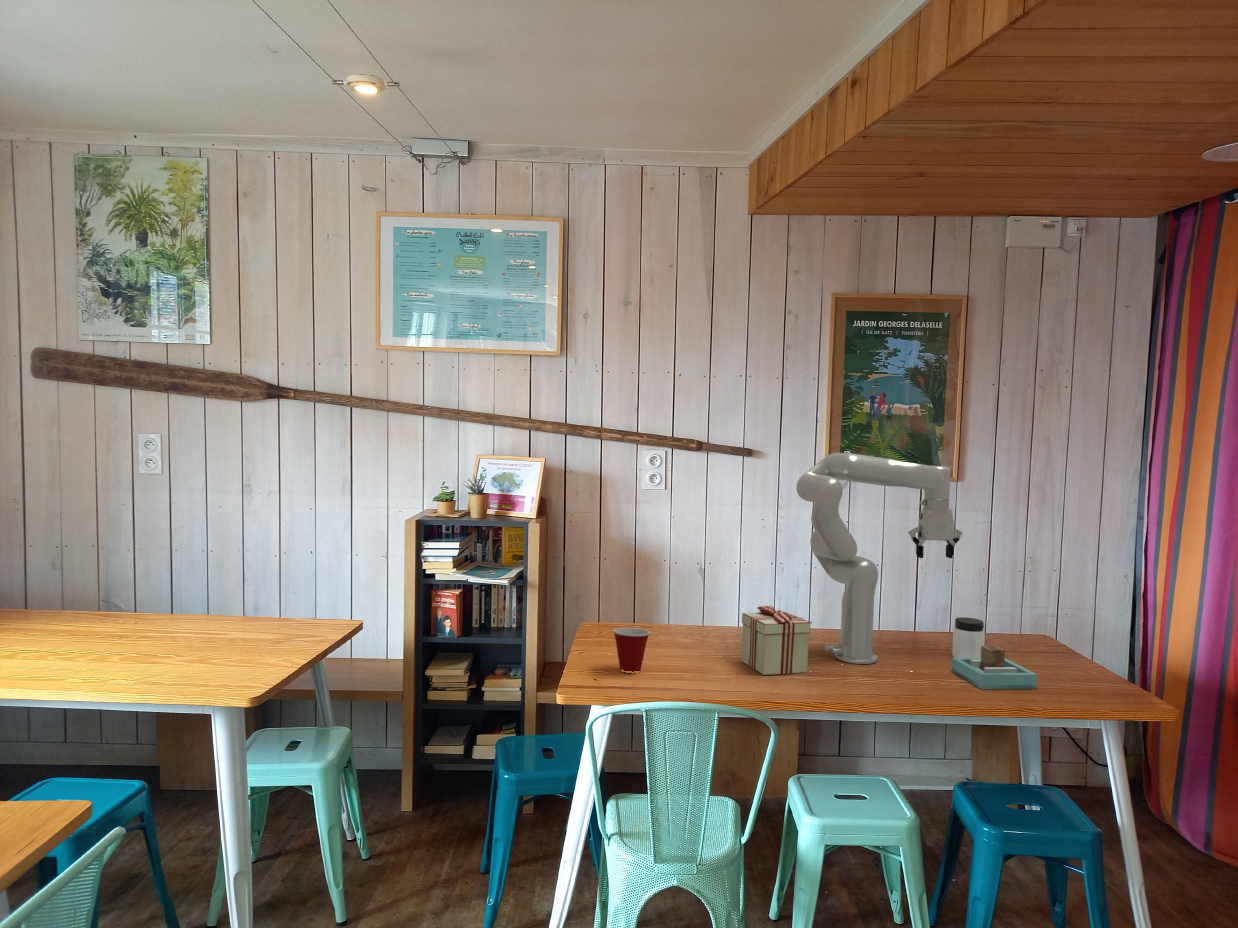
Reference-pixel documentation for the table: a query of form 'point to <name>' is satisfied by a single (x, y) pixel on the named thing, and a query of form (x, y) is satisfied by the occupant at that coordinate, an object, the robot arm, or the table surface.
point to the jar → (968, 638)
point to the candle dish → (994, 674)
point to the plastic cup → (631, 647)
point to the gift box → (775, 641)
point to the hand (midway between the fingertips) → (934, 557)
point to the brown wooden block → (992, 657)
